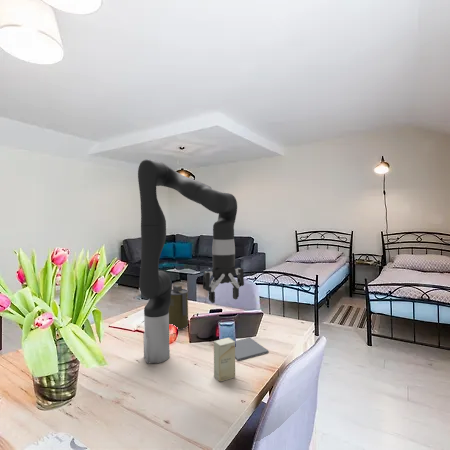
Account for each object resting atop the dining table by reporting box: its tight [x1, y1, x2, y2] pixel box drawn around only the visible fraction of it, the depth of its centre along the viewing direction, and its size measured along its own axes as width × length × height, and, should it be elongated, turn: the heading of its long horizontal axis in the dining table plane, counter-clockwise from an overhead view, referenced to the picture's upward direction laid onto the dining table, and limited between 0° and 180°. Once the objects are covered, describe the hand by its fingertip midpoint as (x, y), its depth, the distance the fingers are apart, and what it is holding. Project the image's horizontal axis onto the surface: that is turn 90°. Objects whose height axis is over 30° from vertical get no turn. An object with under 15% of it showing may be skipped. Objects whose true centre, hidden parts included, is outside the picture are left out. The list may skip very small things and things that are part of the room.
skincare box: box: [213, 337, 236, 382], centre depth 98 cm, size 6×4×12 cm
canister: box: [169, 284, 189, 330], centre depth 143 cm, size 11×10×20 cm
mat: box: [235, 337, 270, 362], centre depth 118 cm, size 14×14×1 cm
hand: (224, 300), depth 97 cm, fingers open, 8 cm apart
